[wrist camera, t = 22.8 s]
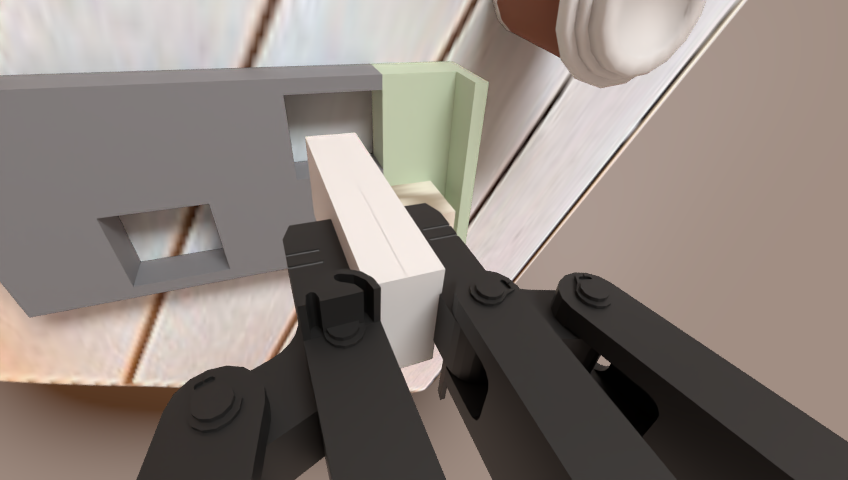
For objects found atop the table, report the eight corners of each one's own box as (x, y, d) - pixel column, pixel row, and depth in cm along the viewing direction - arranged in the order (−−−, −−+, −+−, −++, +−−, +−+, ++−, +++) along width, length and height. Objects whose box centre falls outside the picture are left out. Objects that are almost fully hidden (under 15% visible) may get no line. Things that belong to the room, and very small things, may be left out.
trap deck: (44, 288, 29) (10, 351, 25) (-109, 78, 20) (-206, 118, 16) (437, 220, 39) (463, 256, 35) (452, 61, 30) (489, 82, 26)
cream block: (373, 238, 34) (390, 275, 30) (372, 188, 31) (390, 222, 27) (426, 229, 35) (449, 263, 32) (430, 180, 32) (455, 211, 29)
